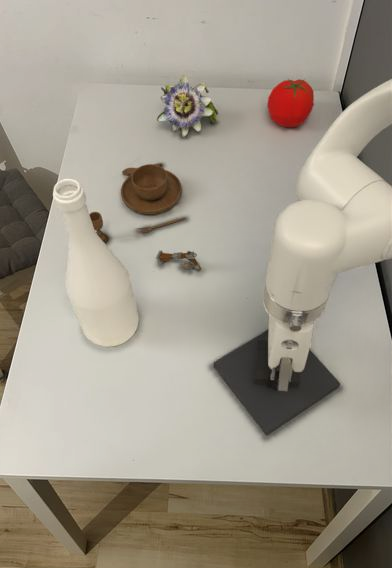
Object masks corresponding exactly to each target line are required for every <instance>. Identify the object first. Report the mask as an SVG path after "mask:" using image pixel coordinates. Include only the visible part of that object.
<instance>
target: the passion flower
mask: <svg viewBox="0 0 392 568" xmlns="http://www.w3.org/2000/svg"><path fill="white" fill-rule="evenodd" d="M164 86H165V88H164V87H163V86H160V89H161V91H162V92H163V95H162V96H160V100H161V101H162V102H163V104H165V107H164V108H163V111H162V112H161V113H159V115H158V116H156V117H157V118H156V121H157V122H158V123H163V122H166V121H168V122H170V124H171V130H172V133H174V132H176V131H178V130H179V131H180V132H181V136H182V137H183V138H185V137H186V136H187V135H188V134H189V129H190V128H191V127H192V128H193V129H194V130H195V131H196V132H201V129H202V118H203V117H207V118H209V120H210V121H211V123H212V124H215V123H216V121H217V115H219V111H218V110H217V109H216V107H215V106H214V103H213V101H212V99H211V97H209V96H205V95H202V93H203V92H204V90H205V93H206V94H209V93H210V90H209V88H208V87H207V86H206V83H205V82H201V83H198V84H196V85H195V86H194V87H192V86H190V83H189V81H188V77H187V76H186V75H184V74H183V75H182V76H181V77H180V79H179V82H178V83H176V84H174V86H172V85H171V84H165V85H164Z"/></svg>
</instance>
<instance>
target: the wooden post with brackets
mask: <svg viewBox="0 0 392 568" xmlns="http://www.w3.org/2000/svg"><path fill="white" fill-rule="evenodd" d="M197 256H198V253H196V252H195V251H190V250H187V252H182V251H180V252H173V253H167V252H164V251H163V250H161V249H159V251H158V252H157V254H156V256H155V258H156V260H157V262H158V263H159V265H162V264H163V263H164V262H167V261H170V260H173V261H182V260H187V261H188V262H186V261H184V263H182V264H181V267H182V268H184V270H187V269H188V270H191V269H192V268H195V269H196V271H197V272H201V270H202V267H201V264H200V262H198V261H197V259H196V257H197Z"/></svg>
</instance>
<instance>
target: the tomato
mask: <svg viewBox="0 0 392 568" xmlns="http://www.w3.org/2000/svg"><path fill="white" fill-rule="evenodd" d="M305 79H306V78H304V79H300V78H298V79H296V80H292V79H289V78H287V80H283V81H281V82H279V83H278V84H276V86H275V87H273V89H272V90H271V92H270V93H269V95H268V98H267V104H266V105H267V110H268V114H269V117H270V119H271V121H273V122H274V123H276V124H277V125H278V126H281V127H284V128H296V127H298V126H300V125H302V124H303V123H304V122H305V121H306V120H307V119H308V118H309V116H310V114H311V113H312V110H313V109H314V105H315V104H314V101H315V98H314V97H315V96H314V89H313V88H312V86H311V85H310V84H309V82H307V81H306V80H305Z"/></svg>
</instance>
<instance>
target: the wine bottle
mask: <svg viewBox="0 0 392 568" xmlns="http://www.w3.org/2000/svg"><path fill="white" fill-rule="evenodd" d="M52 197H53V200H54V202H55V206H56V208H57V209H58V210H60V214H61V217H62V220H63V223H64V226H65V229H66V232H67V236H68V239H69V240H68V242H69V243H68V244H69V245H68V246H69V247H68V255H67V263H66V264H67V265H66V271H65V291H66V294H67V297H68V300H69V302H70V304H71V307H72V309H73V312H74V313H75V316H76V319H77V320H78V323H79V325H80V328H81V330H82V332H83V334H84V336H85V337H86V338H87V339H88V340H89V341H90V342H92V343H93V344H95V345H97V346H100V347H108V348H111V347H117V346H120V345H123V344H124V343H126V342H128V341H129V340H130V339H131V338H132V337H133V336H134V334H135V333H136V332H137V329H138V327H139V321H140V317H139V312H138V307H137V303H136V299H135V295H134V290H133V286H132V281H131V277H130V274H129V271H128V269H127V268H126V266H125V265H124V264H123V263H122V261H121V259H119V257H118V256H116V254H115V253H114V252H113V250H111V249H110V248H109V247H108V245H107V243H104V242H103V241H102V240H101V239H100V237H99V236H98V235H97V233H96V232H97V231H96V230H94V227H93V224H92V221H91V218H90V215H89V214H90V212H89V208H88V206H87V204H86V202H87V196H86V192H85V189H84V186H82V184H81V183H80V182H79V181H78V180H76V179H74V178H63V179H61V180H59V181H58V182H56V183H55V184H54V186H53V191H52Z"/></svg>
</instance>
